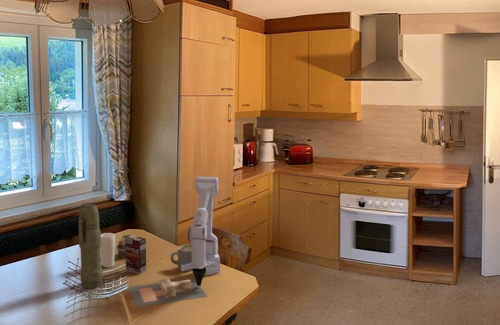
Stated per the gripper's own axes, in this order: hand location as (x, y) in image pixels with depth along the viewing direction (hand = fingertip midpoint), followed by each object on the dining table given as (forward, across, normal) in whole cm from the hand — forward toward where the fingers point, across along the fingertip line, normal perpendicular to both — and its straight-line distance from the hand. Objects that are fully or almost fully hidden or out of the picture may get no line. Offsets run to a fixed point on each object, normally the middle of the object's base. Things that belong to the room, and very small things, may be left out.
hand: (198, 284), depth 212 cm
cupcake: (+2, -22, +51) cm, 56 cm away
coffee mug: (+2, +1, +25) cm, 25 cm away
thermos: (+2, -41, +20) cm, 46 cm away
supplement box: (+2, -21, +29) cm, 36 cm away
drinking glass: (+2, -32, +40) cm, 51 cm away
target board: (+2, -13, 0) cm, 13 cm away
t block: (+1, -9, 0) cm, 9 cm away
